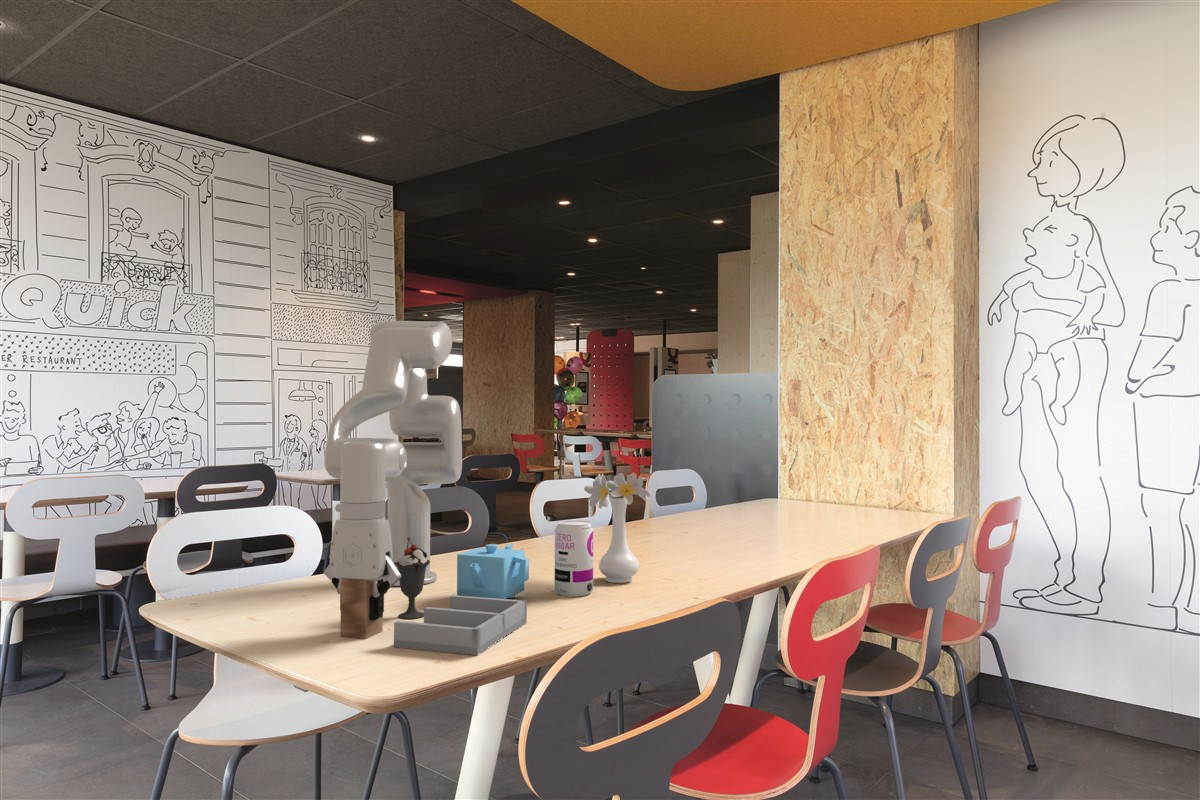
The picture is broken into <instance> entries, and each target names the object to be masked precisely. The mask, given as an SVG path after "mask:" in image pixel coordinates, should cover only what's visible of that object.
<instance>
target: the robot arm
mask: <svg viewBox="0 0 1200 800" xmlns="http://www.w3.org/2000/svg"><path fill="white" fill-rule="evenodd" d="M369 338H370V343H369V347H368V353H367V359H366V364H365V370H364V376H363V379H362V380H363V381H362V387H361V390H359V391H358V392H357V393H356V394H354V395H353V396H352V397H351V398H349V399H348V400H347V401H346V402H345V403H344V404H343V405H342V406H341V407H340V408H339V410H338V411H337V412H336V413H335V415H334V416H333V419H331V420H332V421H331V423H330V426H329V429H328V435H327V439H326V444H325V449H324V450H325V451H324V468H325V470H326V473H327V474H328V475H329V476H331V477H332V478H334V479H339V480H340V483H339V484H340V485H339V488H340V491H339V493H340V495H339V497H340V498H339V499H340V500H339V501H340V502H339V503H337V504H336V505H335V507H334V510H335V512H336V513H339V518H338V519H335V523H334V526H333V531H332V536H331V542H330V551H329V552H330V553H329V564H328V566H327V567H326V568H325V570H324V571H323V572H324V575H325V576H326V578H328V579H329V580H330V581H331V584H332V585H333V586H334V588H335V589H336V593H337V594H338V595H340V598H339V599H340V600H339V610H340V612H341V578H342V579H354V580H366V581H370V586H371V591H372V595H373V596H372V597H370V614H369V619H370V620H371V621H374V620H376V619H379V618H381V617H382V616H384V612H385V595H386V594H387V593H388V591H389V590H390V589H391V587H400V581H399V579H400V578H401V574H400V573H399V571H398V567H397V565H396V564H394V563H396V562H399V560H400V558H401V557H402V556H403V554H404V553H405V552H404V551H405V550H406V549H407V543H408V548H410V547H411V546H412V544H413V545H416V546H417V548H420V549H422V550H423V551H424V552H426V553H427V557H426V559H427V560H430V561H431V502H430V499H429V497H428V495H427V494H426V492H425V491H423V489H422V488H421V486H420V485H442V484H443V485H446V484H449V485H450V484H454V483H456V482H458V481H459V479H460V478H461V475H462V470H463V442H462V441H463V438H462V437H463V436H462V413H461V408H460V404H459V402H458V400H457V399H455V398H454V397H453V396H451V395H450V396H449V395H429V394H428V376H427V375H428V374H427V372H426V370H428V369H429V370H434V369H438V368H440V367H441V366H442V365H443V364H444V362H445V361H446V360H447V359H448V358H449V357H450V353H451V352H452V347H453V334H452V331H451V329H450V327H449V325H448V324H447V323H445V322H444V321H431V320H429V321H423V320H421V321H419V320H418V321H417V320H388V321H387V320H385V321H380V322H377V323H375V324H374V325H373V326H371V328H370V330H369ZM385 413H389V418H388V419H389V426H390V429H391V431H392V433H393V434H394V435H395V436H398V437H403V438H438V440H440V442H426V441H425V442H424V441H423V442H422V441H419V442H417V441H415V442H414V441H407V442H406V441H405V442H400V441H399V440H396V439H395V438H388V437H387V438H383V437H382V438H380V437H379V438H378V437H377V438H376V437H373V438H372V437H350V435H351V433H352V432H353V431H354V430H355V429H356V428H357V427H358V426H359V425H361V424H363V423H364V422H366V421H368V420H370V419H373V418H376V417H378V416H381V415H384V414H385ZM386 488H387V491H386ZM386 492H387V518H386ZM408 538H410V541H409V542H408V540H407V539H408ZM410 542H411V543H412V544H411V543H410ZM437 575H438V574H437V573H435V572H434V571H431V562H430V563H429V565H427V566H426V571H425V578H424V585H426V584H430V583H433V582H435V581H436V580H438V579H437V577H438V576H437ZM377 581H378V582H377Z"/></svg>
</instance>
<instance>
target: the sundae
mask: <svg viewBox="0 0 1200 800" xmlns="http://www.w3.org/2000/svg"><path fill="white" fill-rule="evenodd" d="M407 540H408V542H409V541H410V538H408V539H407ZM410 543H411V542H410ZM411 544H412V543H411ZM404 552H405V553H404V554H403V556H402V557H401V558H400V560H399V562H396V563H394V564H396V565H397V567H398V571H399V573H400V574H401V578H400V579H399V581H400V586H399V587H400V590H401V592H402V594H403V595H404V596H406V597H407V599H408V608H407V610H405V612H402V613H400V614H399V615H398V616H397V617H398V618H399V619H402V620H416V619H421V618H424V611H423V612H422V611H419V610H417V608H416V602H415V600H416V598H417V597H418V595H420V594H421V592H422V591H423V588H424V585H425V584H424V578H425V571H426V566H427V565H429V563H430V564H431V559H430V560H427V559H426V557H427V553H426V552H424V551H423V550H422V549H420V548H417V546H416V545H413V544H412V546H411V547H410V548H408V543H407V549H406V550H405V551H404Z"/></svg>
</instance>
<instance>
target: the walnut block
mask: <svg viewBox="0 0 1200 800" xmlns="http://www.w3.org/2000/svg"><path fill="white" fill-rule="evenodd" d="M377 582H378V581H377ZM372 596H373V595H372V591H371V586H370V581H366V580H354V579H342V578H341V611H340V629H339V630H340V633H339V636H340V637H342V638H343V637H344V638H353V639H365V640H366V639H369V638H371V637H373V636H375V635H377V634H379V633H381V632H383V629H384V628H383V624H384V621H383V620H384V619H383V618H384V617H383V616H384V615H383V616H382V617H381V618H379V619H376V620H374V621H371V620H370V619H369V614H370V597H372Z"/></svg>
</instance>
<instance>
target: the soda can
mask: <svg viewBox="0 0 1200 800" xmlns="http://www.w3.org/2000/svg"><path fill="white" fill-rule="evenodd" d="M554 591H555V592H556V593H557V594H559V596H561V595H562V597H566V596H570V598H579V597H580V596H581V597H586V596H588V594H589V595H590V594H591V593H592V592H593V591H594V528H593V526H592V524H591V522H590V521H589V520H588V521H587V520H563V521H562V520H561V521H558V522H557V525H556V526H555V529H554ZM581 597H580V598H581Z"/></svg>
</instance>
